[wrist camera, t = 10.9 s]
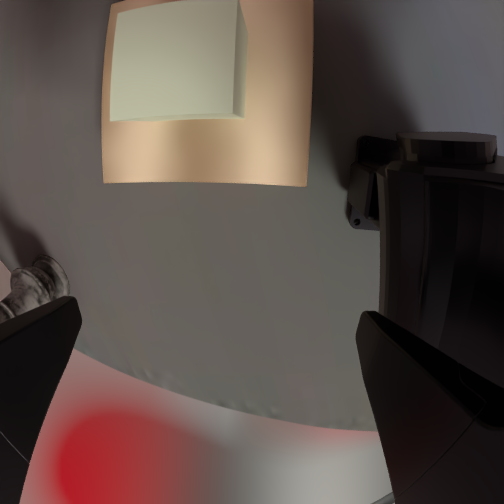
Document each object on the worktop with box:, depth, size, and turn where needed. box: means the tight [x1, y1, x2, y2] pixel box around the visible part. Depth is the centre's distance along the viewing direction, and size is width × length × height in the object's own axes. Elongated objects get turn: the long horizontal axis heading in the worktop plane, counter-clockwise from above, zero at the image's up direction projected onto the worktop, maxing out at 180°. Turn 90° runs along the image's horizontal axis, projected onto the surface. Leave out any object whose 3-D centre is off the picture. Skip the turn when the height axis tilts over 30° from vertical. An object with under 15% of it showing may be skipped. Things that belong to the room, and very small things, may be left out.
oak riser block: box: [102, 0, 313, 187], centre depth 15 cm, size 12×12×4 cm
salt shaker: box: [0, 255, 70, 323], centre depth 19 cm, size 6×6×12 cm
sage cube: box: [110, 0, 248, 122], centre depth 11 cm, size 5×5×5 cm
